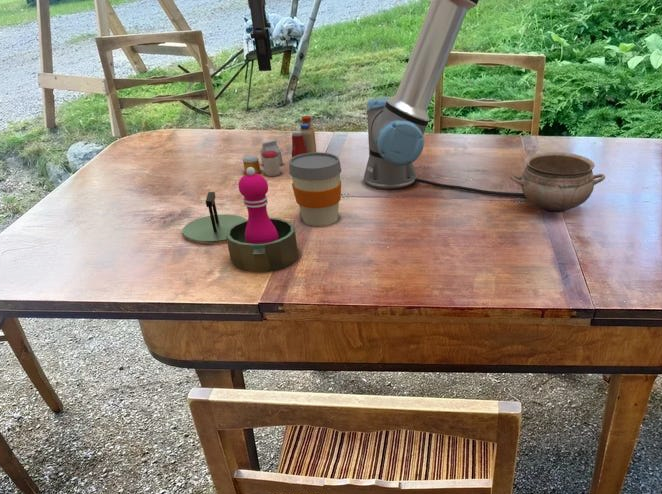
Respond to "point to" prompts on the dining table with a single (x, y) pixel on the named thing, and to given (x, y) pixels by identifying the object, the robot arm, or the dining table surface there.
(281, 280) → the dining table surface
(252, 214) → the pepper mill
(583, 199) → the cooking pot
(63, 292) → the dining table surface
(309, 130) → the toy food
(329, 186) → the reusable coffee cup
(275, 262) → the pot
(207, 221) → the lid
